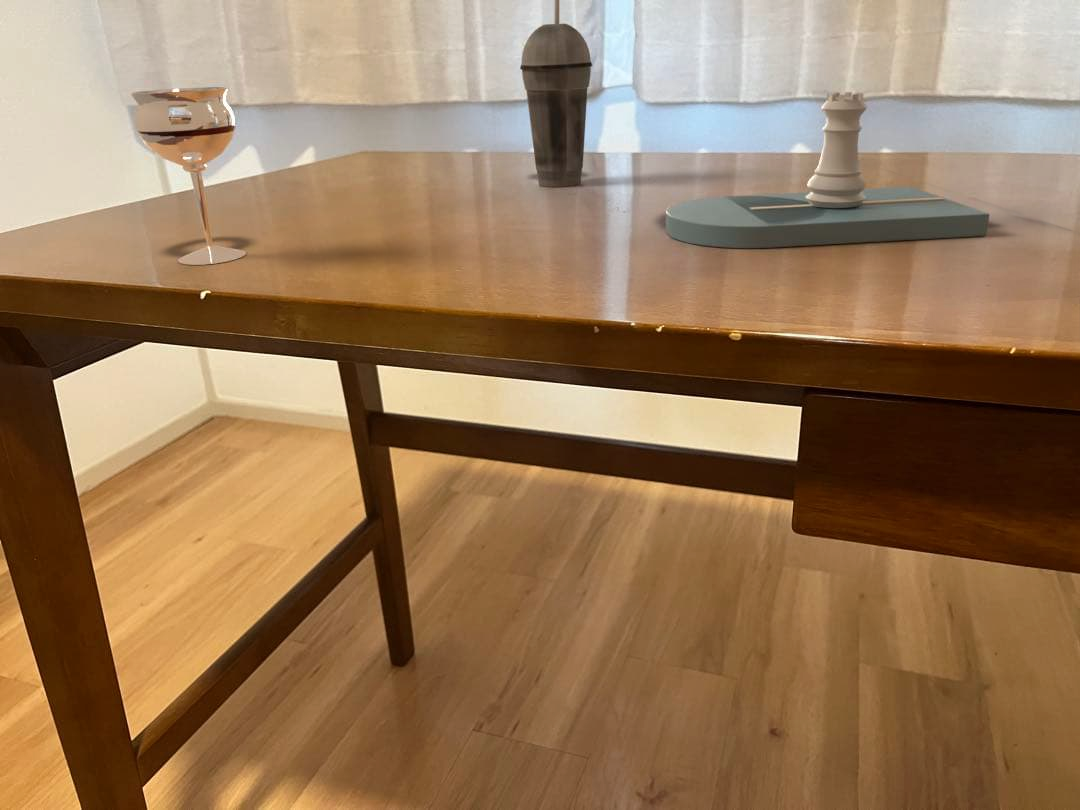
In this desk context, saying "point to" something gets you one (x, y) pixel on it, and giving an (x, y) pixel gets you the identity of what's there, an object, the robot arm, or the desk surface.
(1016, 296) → the desk surface
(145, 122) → the wineglass
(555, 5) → the beverage cup
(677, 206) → the board
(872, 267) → the desk surface
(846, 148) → the rook chess piece
